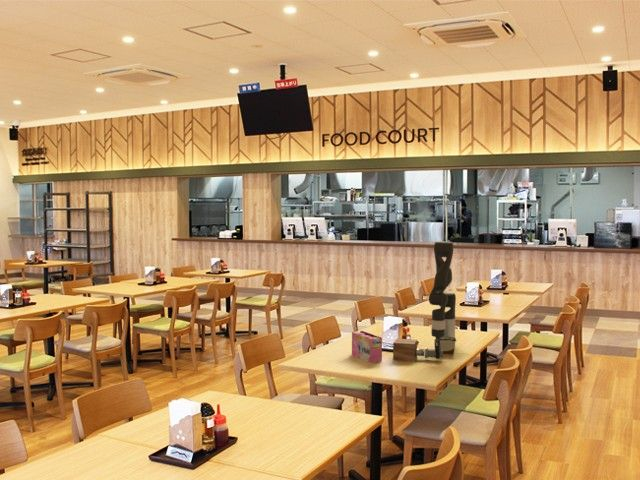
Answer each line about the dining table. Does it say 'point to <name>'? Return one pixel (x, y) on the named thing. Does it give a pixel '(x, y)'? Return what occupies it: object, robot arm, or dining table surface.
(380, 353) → the gum box
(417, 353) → the grey capped rod
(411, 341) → the housing
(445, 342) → the food container
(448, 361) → the dining table surface
